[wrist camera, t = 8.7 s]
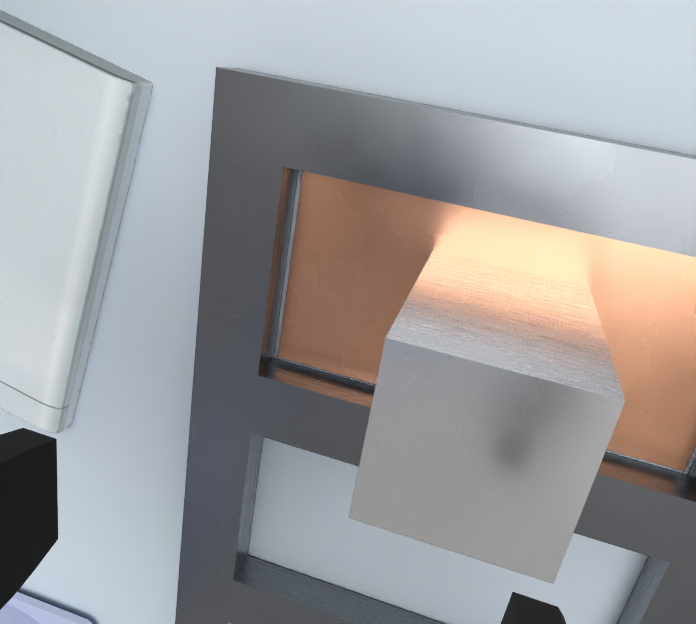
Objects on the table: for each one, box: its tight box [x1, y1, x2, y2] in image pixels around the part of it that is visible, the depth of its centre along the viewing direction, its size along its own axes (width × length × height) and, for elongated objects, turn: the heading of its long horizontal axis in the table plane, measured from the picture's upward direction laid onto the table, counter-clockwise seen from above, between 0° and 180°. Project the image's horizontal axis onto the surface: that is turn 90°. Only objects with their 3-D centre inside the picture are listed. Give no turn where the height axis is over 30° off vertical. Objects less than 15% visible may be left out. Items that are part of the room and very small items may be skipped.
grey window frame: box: [175, 67, 696, 624], centre depth 19 cm, size 26×16×1 cm, turn 170°
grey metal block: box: [349, 251, 625, 584], centre depth 14 cm, size 4×4×6 cm
